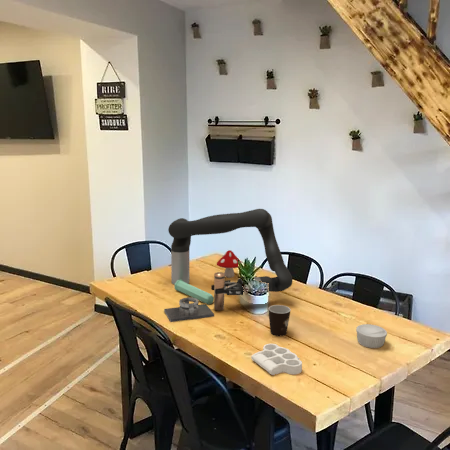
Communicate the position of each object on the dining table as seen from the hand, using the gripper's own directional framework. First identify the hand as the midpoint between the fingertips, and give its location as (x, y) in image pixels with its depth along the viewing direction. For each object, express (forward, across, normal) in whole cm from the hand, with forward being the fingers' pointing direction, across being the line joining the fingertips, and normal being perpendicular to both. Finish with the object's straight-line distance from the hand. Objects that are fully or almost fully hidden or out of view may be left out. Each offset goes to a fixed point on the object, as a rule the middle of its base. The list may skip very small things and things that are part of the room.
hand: (213, 289), depth 208 cm
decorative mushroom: (-23, -42, +10) cm, 49 cm away
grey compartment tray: (-7, +51, +10) cm, 53 cm away
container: (+3, -19, +10) cm, 22 cm away
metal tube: (-3, 0, +9) cm, 9 cm away
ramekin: (-47, +48, +10) cm, 68 cm away
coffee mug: (-19, +29, +10) cm, 36 cm away
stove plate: (+11, 0, +10) cm, 15 cm away
